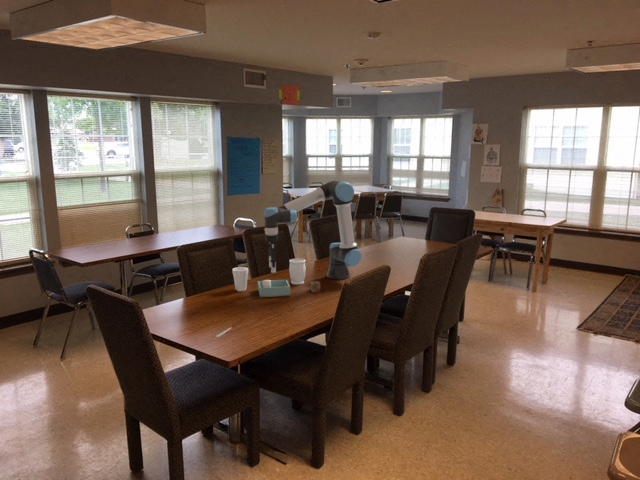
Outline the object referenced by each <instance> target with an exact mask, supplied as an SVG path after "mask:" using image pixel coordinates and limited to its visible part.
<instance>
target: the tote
mask: <svg viewBox="0 0 640 480" xmlns="http://www.w3.org/2000/svg"><path fill="white" fill-rule="evenodd" d="M257 290H258V294H259V298H274V297H290V296H291V285H290V282H289V280H288V279H275V280H271V287H267V288H263V280H257Z"/></svg>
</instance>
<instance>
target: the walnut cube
mask: <svg viewBox="0 0 640 480" xmlns="http://www.w3.org/2000/svg"><path fill="white" fill-rule="evenodd" d="M310 291H311V293H321V282H320V281H310Z"/></svg>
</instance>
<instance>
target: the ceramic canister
mask: <svg viewBox="0 0 640 480" xmlns="http://www.w3.org/2000/svg"><path fill="white" fill-rule="evenodd" d="M262 281H263V288H267V287H271V280H270V279H263V280H262Z"/></svg>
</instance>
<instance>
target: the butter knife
mask: <svg viewBox="0 0 640 480" xmlns="http://www.w3.org/2000/svg"><path fill="white" fill-rule="evenodd" d="M231 329H233V327H231V326H230V327H229V328H227V329H226V330H223V331H222V332H220V333H218V334H216V335H215V338H219V337H222V335H224V334H225V333H227V332H228V331H230V330H231Z"/></svg>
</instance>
